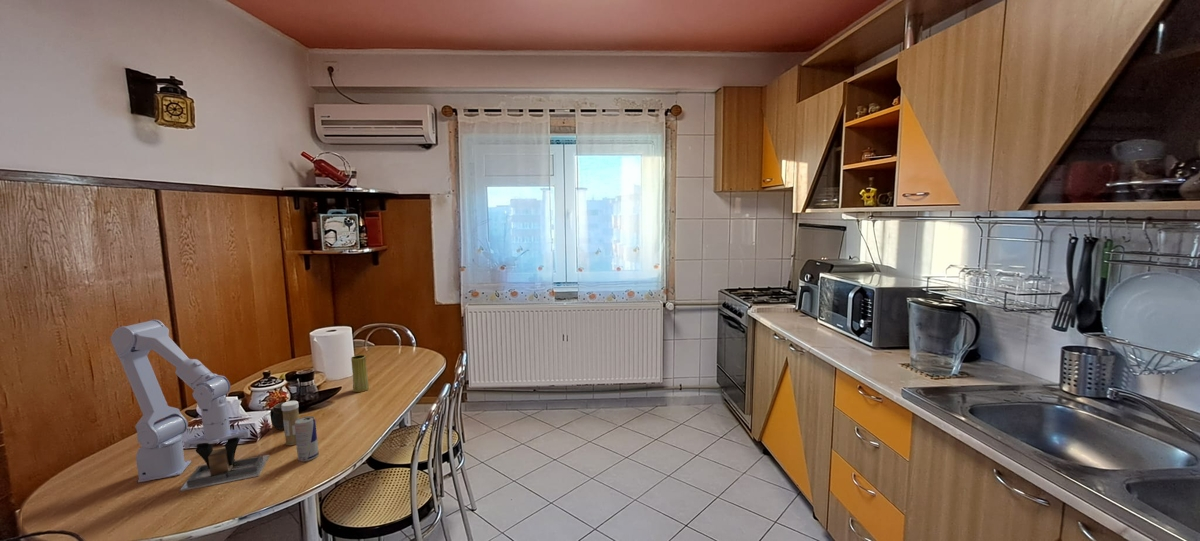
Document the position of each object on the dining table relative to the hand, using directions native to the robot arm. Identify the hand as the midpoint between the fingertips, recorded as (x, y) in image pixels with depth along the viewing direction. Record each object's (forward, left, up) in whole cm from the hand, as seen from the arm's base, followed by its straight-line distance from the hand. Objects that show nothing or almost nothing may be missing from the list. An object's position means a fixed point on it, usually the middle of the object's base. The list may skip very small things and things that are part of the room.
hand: (221, 465), depth 134 cm
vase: (+32, +55, -3) cm, 64 cm away
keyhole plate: (+2, 0, -2) cm, 3 cm away
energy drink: (+21, 0, -3) cm, 21 cm away
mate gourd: (+10, +28, -3) cm, 30 cm away
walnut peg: (0, 0, -2) cm, 2 cm away
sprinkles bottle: (+15, +13, -3) cm, 20 cm away
